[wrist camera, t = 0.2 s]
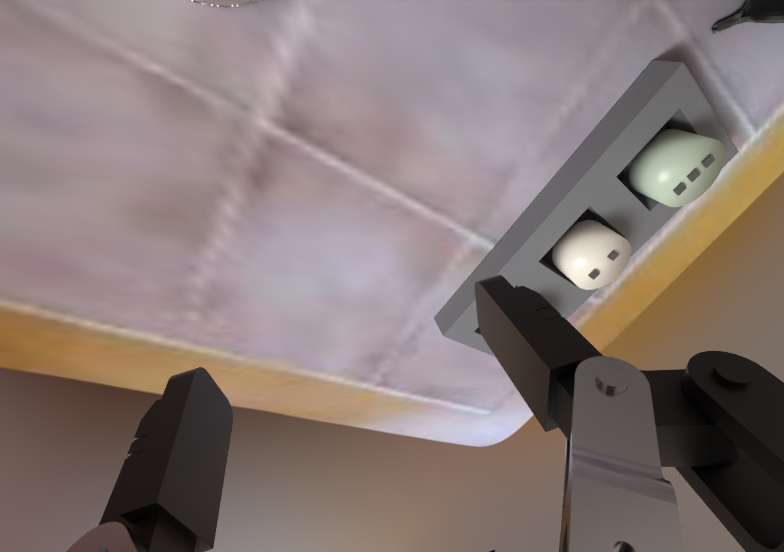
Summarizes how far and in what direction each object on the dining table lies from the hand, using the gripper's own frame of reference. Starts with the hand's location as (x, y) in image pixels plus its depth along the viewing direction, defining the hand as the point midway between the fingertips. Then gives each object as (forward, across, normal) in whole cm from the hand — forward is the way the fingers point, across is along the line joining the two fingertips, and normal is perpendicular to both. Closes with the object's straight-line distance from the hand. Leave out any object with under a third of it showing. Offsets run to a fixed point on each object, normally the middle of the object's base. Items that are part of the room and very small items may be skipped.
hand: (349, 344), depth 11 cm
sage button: (+15, -26, +6) cm, 31 cm away
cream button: (+16, -20, +11) cm, 28 cm away
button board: (+18, -20, +11) cm, 29 cm away
